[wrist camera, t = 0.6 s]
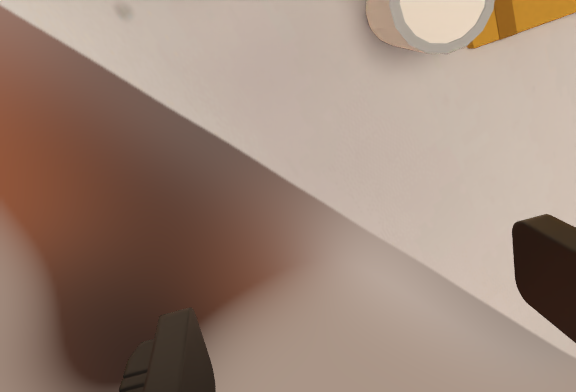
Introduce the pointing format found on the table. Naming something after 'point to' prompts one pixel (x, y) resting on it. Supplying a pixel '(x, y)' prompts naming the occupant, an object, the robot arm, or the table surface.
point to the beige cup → (428, 23)
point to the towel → (520, 17)
